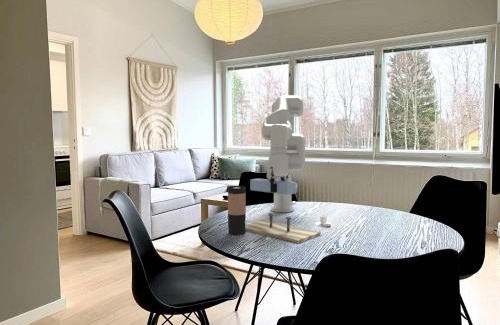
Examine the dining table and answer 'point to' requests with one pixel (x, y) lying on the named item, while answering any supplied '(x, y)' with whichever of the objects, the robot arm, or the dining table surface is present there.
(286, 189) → the blue slotted peg holder
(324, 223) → the white curved piece
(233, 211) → the travel mug
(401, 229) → the dining table surface
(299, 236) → the board
